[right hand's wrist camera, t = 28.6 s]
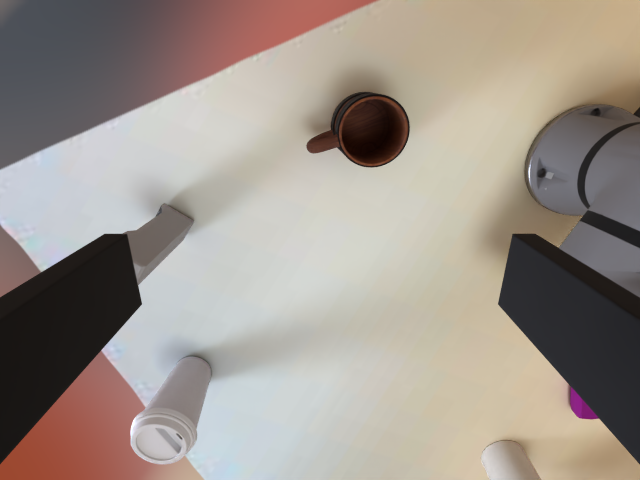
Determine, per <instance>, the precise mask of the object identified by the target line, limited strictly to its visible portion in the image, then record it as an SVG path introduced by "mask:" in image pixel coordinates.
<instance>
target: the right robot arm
mask: <svg viewBox="0 0 640 480" xmlns="http://www.w3.org/2000/svg"><path fill="white" fill-rule="evenodd" d="M525 180H526V184H527V187H528V190H529V192H530V194H531V195H532V197H533V198H534V199H535V200H536V201H537V202H538V203H539V204H540V205H542V206H543V207H545V208H547V209H549V210H551V211H554V212H556V213H560V214H565V215H572V216H580V215H583V217H582V218H581V219H580V221H579V222H578V223H577V225H576V226H575V227H574V229H573V230H572V231H571V232H570V234H569V235H568V236H567V238H566V239H565V240H564V242H563V243H562V244H561V246H560V247H559V248H558V247H556V246H554V245H553V244H551V243H549V242H548V241H546V240H544V239H543V238H541V237H539V236H538V235H536V234H513V235H512V240H511V245H510V249H509V254H508V259H507V264H506V269H505V273H504V278H503V283H502V288H501V293H500V297H499V302H498V305H499V306H500V307H501V308H502V309H503V310H504V311H505V313H506V314H507V315H508V316H509V317H510V318H511V319H512V320H513V322H514V323H515V324H516V325H517V326H518V327H519V328H520V329H521V331H522V332H523V333H524V334H525V335H526V336H527V337H528V339H529V340H530V341H531V342H532V343H533V344H534V345H535V346H536V348H537V349H538V350H539V351H540V352H541V353H542V354H543V355H544V357H545V358H546V359H547V360H548V361H549V362H550V363H551V364H552V366H553V367H554V368H555V369H556V370H557V371H558V372H559V374H560V375H561V376H562V377H563V378H564V379H565V380H566V381H567V383H568V384H569V385H570V386H571V387H572V388H573V389H574V390H575V392H576V393H577V394H578V395H579V396H580V397H581V398H582V400H583V401H584V402H585V403H586V404H587V405H588V406H589V407H590V409H591V410H592V411H593V412H594V413H595V414H596V415H597V416H598V418H599V419H600V420H601V421H602V422H603V423H604V424H605V425H606V427H607V428H608V429H609V430H610V431H611V432H612V433H613V435H614V436H615V437H616V438H617V439H618V440H619V441H620V442H621V444H622V445H623V446H624V447H625V448H626V449H627V450H628V451H629V453H630V454H631V455H632V456H633V457H634V458H635V459H636V460H637V462H638V463H639V464H640V107H639V109H638V110H637V111H636V112H635V113H634V114H631V113H630V112H628V111H626V110H624V109H621V108H618V107H614V106H610V105H584V106H579V107H576V108H573V109H570V110H568V111H566V112H564V113H562V114H561V115H559V116H557V117H556V118H555V119H553V120H552V121H551V122H550V123H549V124H547V125H546V126H545V127H544V128H543V130H542V131H541V132H540V133H539V134H538V136H537V137H536V139H535V140H534V142H533V144H532V146H531V148H530V150H529V153H528V156H527V159H526V165H525ZM141 305H142V302H141V297H140V293H139V288H138V283H137V278H136V273H135V269H134V264H133V259H132V254H131V249H130V245H129V240H128V235H127V234H104V235H102V236H101V237H99V238H97V239H96V240H94V241H92V242H91V243H89V244H87V245H86V246H84V247H82V248H81V249H79V250H78V251H76V252H74V253H73V254H71V255H69V256H68V257H66V258H64V259H63V260H61V261H59V262H58V263H56V264H54V265H53V266H51V267H50V268H48V269H46V270H45V271H43V272H41V273H40V274H38V275H36V276H35V277H33V278H31V279H30V280H28V281H27V282H25V283H23V284H22V285H20V286H18V287H17V288H15V289H13V290H12V291H10V292H8V293H7V294H5V295H3V296H2V297H0V464H1V463H2V462H3V460H4V459H5V458H6V457H7V456H8V455H9V454H10V452H11V451H12V450H13V449H14V448H15V447H16V446H17V445H18V444H19V442H20V441H21V440H22V439H23V438H24V437H25V436H26V435H27V433H28V432H29V431H30V430H31V429H32V428H33V427H34V425H35V424H36V423H37V422H38V421H39V420H40V419H41V418H42V416H43V415H44V414H45V413H46V412H47V411H48V410H49V409H50V407H51V406H52V405H53V404H54V403H55V402H56V401H57V399H58V398H59V397H60V396H61V395H62V394H63V393H64V392H65V390H66V389H67V388H68V387H69V386H70V385H71V384H72V383H73V381H74V380H75V379H76V378H77V377H78V376H79V375H80V373H81V372H82V371H83V370H84V369H85V368H86V367H87V366H88V364H89V363H90V362H91V361H92V360H93V359H94V358H95V357H96V355H97V354H98V353H99V352H100V351H101V350H102V349H103V348H104V346H105V345H106V344H107V343H108V342H109V341H110V340H111V339H112V337H113V336H114V335H115V334H116V333H117V332H118V331H119V329H120V328H121V327H122V326H123V325H124V324H125V323H126V322H127V320H128V319H129V318H130V317H131V316H132V315H133V314H134V313H135V311H136V310H137V309H138V308H139V307H140V306H141Z"/></svg>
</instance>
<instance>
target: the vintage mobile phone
mask: <svg viewBox="0 0 640 480" xmlns="http://www.w3.org/2000/svg"><path fill="white" fill-rule="evenodd" d="M193 222H194V221H193V220H192V219H190V218H188V217H186V216H185V215H183V214H181V213H180V212H178V211H176V210H175V209H173V208H171V207H170V206H168V205H166V204H163V205H162V206H161V207H160V209H159V211H158V213H157V215H156V217H155V218H154V219H152V220H151V221H149V222H148V223H146V224H145V225H143V226H142V227H141V228H139V229H138V230H135V231H127V232H125V233H123V234H127V235H128V240H129V245H130V249H131V254H132V259H133V264H134V269H135V273H136V278H137V283H138V285H139V284H140V283H141V282H142V281H143V280H144V279H145V278H146V277H147V276H148V275H149V274H150V273H151V272H152V271H153V270H154V269H155V268H156V267H157V266H158V265H159V264H160V263H161V262H162V261H163V260H164V259H165V258H166V257H167V256H168V255H169V254H170V253H171V252H172V251H173V250H174V249H175V248H176V247H177V246H178V245H179V244H180V243H181V242H182V241H183V240H184V238H185V236H186V234H187V233H188V231H189V229H190V227H191V226H192V224H193Z"/></svg>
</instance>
